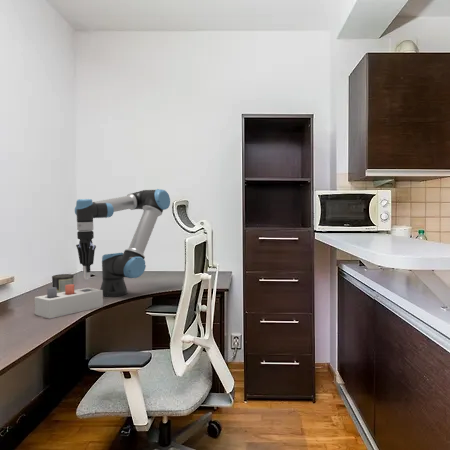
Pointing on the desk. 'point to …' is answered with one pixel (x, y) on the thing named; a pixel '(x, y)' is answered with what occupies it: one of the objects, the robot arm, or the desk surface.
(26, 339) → the desk surface
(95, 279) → the desk surface
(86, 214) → the robot arm
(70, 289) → the red plug
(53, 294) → the charcoal plug
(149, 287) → the desk surface
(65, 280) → the coffee can
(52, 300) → the panel
